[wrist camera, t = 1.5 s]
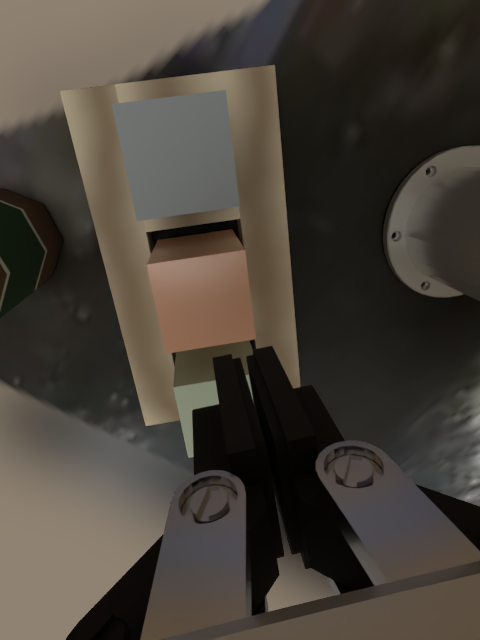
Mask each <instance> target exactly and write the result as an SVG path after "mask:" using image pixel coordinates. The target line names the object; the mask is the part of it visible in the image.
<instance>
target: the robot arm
mask: <svg viewBox="0 0 480 640" xmlns="http://www.w3.org/2000/svg"><path fill="white" fill-rule="evenodd" d="M426 170H428V171H427V173H426ZM393 233H394V236H393V237H392V234H393ZM383 246H384V253H385V256H386V259H387V261H388V264H389V266H390V268H391V269H392V271H393V273H394V274H395V276H396V277H397V278H398V279H399V280H400V281H401V282H402V283H403V284H405V285H406V286H408V287H410V288H411V289H413V290H415V291H417V292H418V293H420V294H423V295H427V296H431V297H442V298H448V297H454V296H460V295H463V294H465V295H468V296H470V297H472V298H474V299H476V300H478V301H480V146H462V147H455V148H450V149H447V150H444V151H441V152H439V153H436V154H435V155H433V156H431V157H429V158H428V159H426V160H424V161H423V162H422V163H420V164H419V165H418V166H417V167H416V168H414V169H413V170H412V171H411V172H410V173H409V174H408V176H407V177H406V178H405V179H404V180H403V181H402V183H401V184H400V186H399V187H398V189H397V190H396V192H395V194H394V195H393V197H392V199H391V202H390V204H389V207H388V209H387V212H386V216H385V221H384V225H383ZM212 360H213V367H214V373H215V380H216V387H217V393H218V400H219V404H217V405H212V406H207V407H203V408H198V409H193V410H192V426H193V454H194V476H192V477H190V478H189V479H188V480H186V481H185V482H184V483H182V484H181V485H180V486H179V488H178V489H177V490H176V491H175V493H174V496H173V498H172V500H171V503H170V507H169V512H168V517H167V521H166V526H165V530H164V534H163V535H162V536H161V537H160V538H159V539H158V540H157V541H156V543H155V544H154V545H153V546H152V547H151V548H150V549H149V550H148V551H147V552H146V553H145V554H144V555H143V556H142V557H141V558H140V559H139V560H138V561H137V562H136V563H135V564H134V566H133V567H131V568H130V570H128V572H127V573H126V574H125V575H124V576H123V577H122V578H121V579H120V580H119V581H118V582H117V583H116V584H115V585H114V586H113V587H112V588H111V589H110V590H109V591H108V592H107V594H105V595H104V597H102V599H101V600H100V601H99V602H98V603H97V604H96V605H95V606H94V607H93V608H92V609H91V610H90V611H89V612H88V613H87V614H86V615H85V616H84V617H83V618H82V620H80V621H79V622H78V624H77V625H76V626H75V627H74V629H73V630H72V631H71V633H70V634H69V635H68V636H67V638H66V640H480V507H479V506H476V505H473V504H471V503H468V502H465V501H462V500H459V499H456V498H453V497H450V496H448V495H445V494H442V493H439V492H436V491H433V490H430V489H427V488H425V487H422V486H419V485H416V484H414V483H413V481H412V480H411V479H410V478H409V477H408V476H407V475H406V474H405V473H404V472H403V471H402V470H401V469H400V468H399V467H398V466H397V465H396V464H395V463H394V462H393V461H392V460H391V459H390V458H389V457H388V456H387V455H386V454H385V453H384V452H383V451H382V450H380V449H379V448H378V447H375V446H373V445H371V444H369V443H365V442H360V441H345V440H344V439H343V437H342V435H341V433H340V432H339V430H338V428H337V427H336V425H335V423H334V422H333V420H332V418H331V416H330V415H329V413H328V411H327V410H326V408H325V406H324V404H323V403H322V401H321V399H320V398H319V396H318V394H317V393H316V391H315V389H314V388H313V386H312V385H308V386H303V387H298V388H293V387H292V385H291V383H290V381H289V379H288V377H287V375H286V373H285V371H284V369H283V366H282V364H281V362H280V360H279V358H278V356H277V354H276V352H275V350H274V348H273V346H268V347H263V348H258V349H253V355H249V356H246V360H247V366H248V372H249V378H250V383H251V389H252V395H253V399H252V396H251V392H250V389H249V386H248V382H247V379H246V375H245V372H244V369H243V365H242V362H241V359H240V358H235V359H233V358H232V354H228V355H223V356H218V357H213V358H212ZM253 401H254V402H253ZM274 493H275V495H274ZM275 496H276V500H277V504H278V507H279V511H280V514H281V518H282V521H283V525H284V528H285V532H286V536H287V540H288V543H289V546H290V550H291V553H292V554H297V553H301V556H302V559H303V562H304V566H305V569H308V568H312V569H314V570H316V571H318V572H320V573H322V574H323V575H325V576H327V577H328V583H329V586H330V589H331V591H332V594H333V596H331V597H327V598H323V599H319V600H315V601H311V602H307V603H303V604H299V605H295V606H291V607H287V608H282V609H278V610H274V611H270V612H268V603H267V598H266V595H267V593H268V592H269V590H270V588H271V587H272V585H273V584H274V582H275V581H276V579H277V577H278V576H279V570H278V564H277V558H280V557H284V550H283V544H282V539H281V532H280V526H279V520H278V514H277V507H276V501H275Z"/></svg>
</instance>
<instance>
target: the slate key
mask: <svg viewBox="0 0 480 640" xmlns="http://www.w3.org/2000/svg"><path fill="white" fill-rule="evenodd" d="M112 108H113V113H114V118H115V122H116V127H117V131H118V136H119V141H120V145H121V150H122V154H123V159H124V164H125V168H126V173H127V177H128V182H129V187H130V191H131V196H132V200H133V205H134V210H135V214H136V219H137V221H142V220H149V219H156V218H163V217H170V216H177V215H184V214H191V213H198V212H205V211H212V210H219V209H226V208H233V207H240V203H239V195H238V186H237V178H236V170H235V162H234V154H233V145H232V137H231V129H230V121H229V112H228V104H227V96H226V90H221V91H213V92H205V93H197V94H189V95H181V96H173V97H165V98H157V99H149V100H141V101H133V102H125V103H117V104H112Z"/></svg>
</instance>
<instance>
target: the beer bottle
mask: <svg viewBox="0 0 480 640" xmlns="http://www.w3.org/2000/svg"><path fill="white" fill-rule="evenodd" d="M62 243H63V239H62V237H61V235H60V233H59V232H58V230H57V228H56V226H55V224H54V223H53V221H52V219H51V217H50V216H49V214H48V212H47V210H46V208H45V207H44V205H43V204H40V203H38V202H35V201H33V200H30V199H28V198H25V197H23V196H20V195H18V194H15V193H13V192H10V191H8V190H5V189H0V318H1V317H2V316H3V315H5V314H6V313H7V312H8V311H10V310H11V309H12V308H13V307H15V306H16V305H17V304H18V303H20V302H21V301H22V300H23V299H25V298H26V297H27V296H28V295H30V294H31V293H32V292H33V291H35V290H36V289H37V288H38V287H40V286H41V285H42V284H43V283H45V282H46V281H47V280H48V279H49V278H50V277H51V276H52V275H53V274H54V270H55V267H56V264H57V260H58V257H59V254H60V250H61V247H62Z"/></svg>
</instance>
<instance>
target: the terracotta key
mask: <svg viewBox="0 0 480 640" xmlns="http://www.w3.org/2000/svg"><path fill="white" fill-rule="evenodd" d="M147 269H148V274H149V279H150V283H151V288H152V293H153V297H154V302H155V306H156V311H157V316H158V320H159V325H160V329H161V334H162V339H163V343H164V348H165V352H166V354H168V353H174V352H180V351H186V350H192V349H198V348H205V347H211V346H217V345H223V344H229V343H235V342H241V341H248V340H254V339H256V334H255V326H254V318H253V310H252V302H251V293H250V285H249V277H248V269H247V260H246V252H245V249H244V247H243V246H242V244H241V242H240V241H239V239H238V238H237V236H236V235H235V233H234V231H233V230H232V229H229V230H222V231H215V232H209V233H202V234H195V235H188V236H181V237H174V238H167V239H160V240H157V242H156V245H155V247H154V249H153V251H152V253H151V256H150V258H149V260H148V262H147Z"/></svg>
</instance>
